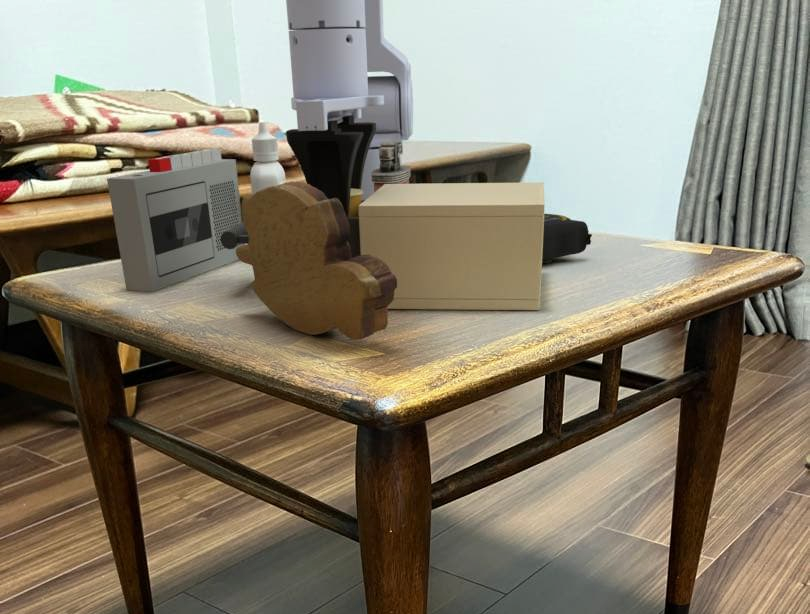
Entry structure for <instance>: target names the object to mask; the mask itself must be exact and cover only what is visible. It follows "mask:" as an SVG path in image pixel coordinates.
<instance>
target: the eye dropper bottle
mask: <svg viewBox="0 0 810 614" xmlns="http://www.w3.org/2000/svg"><path fill="white" fill-rule="evenodd" d="M251 146H252V157H253V161H254V163H253V165H252V167H251V169H250V172H249V173H250V174H249V177H250V187H251V188H250V189H251V194H255V193H256V192H258V191H260V190H262V189H265V188H267V187H271V186H276V185H280V184H284V183H287V179H286V172H285V170H284V168H283V166H282V164H280V162H279V161H278V160H279V159H280V157H279V156H280V155H279V146H278V138H277V137H276V136H274V135H272V134H271V133H270V130H269V127H268V123H267V121H260V122H258V132H257V135H256V136H254V137H253V138H252V139H251Z"/></svg>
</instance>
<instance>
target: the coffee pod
mask: <svg viewBox="0 0 810 614" xmlns="http://www.w3.org/2000/svg"><path fill="white" fill-rule="evenodd" d="M362 193H363V191H362V190H360V189H351V190H350V205H349V214H348V217H359V209H358V206H359V205H360V204H361V203H362V196H361V194H362Z"/></svg>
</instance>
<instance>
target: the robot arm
mask: <svg viewBox="0 0 810 614" xmlns="http://www.w3.org/2000/svg"><path fill="white" fill-rule="evenodd" d="M285 2H286V17H287V29H288V42H289V55H290V65H291V66H290V69H291V83H292V95H293V97H291V98H290V103H291V109H292V110H294V111H296V122H297V124H296V125H297V128H291V129H288V130H285V134H286V136H285V137H286V141H287V144H288V146H289V147H290V149H291V151H292V152H293V154H294V156H295V158H296V160H297V162H298V164H299V167H300V168H301V171H302V174H303V176H304V179H305V183H307V184H309V185H311V186H313V187H315V188H317V189H318V190H320V191H322V192H323V193H324V194H325V196H326V197H327V198H328V199H333V198H337V199H339V201H340V202H341V204H342V206H343V209H344V211H345V214H346V217H348V214H349V205H350V190H351V189H360V190H362V191H363V193H362V194H361V196H362V200H366V199H367V198H368V197H370V196H371V195H372V194H373V193H374V182H372V176H371V173H372V171H374V170H376V169H378V168H380V160H379V148H380V145H381V142H391V141H401V143H404V141H409V139H410V137H411V136H412V135H413V134H414V133H413V132H414V95H413V94H414V91H413V80H412V73H411V72H412V71H411V70H412V67H411V63H410V62H409V60H408V59H409V58H408V57H407V56H406V54H404V53H403V52H402V51H400V50H399V49H398V48H397V47H396V46H394V45H393V44H391V42H389V41H388V40H387V39H386V38H385V35H384V33H385V31H384V6H383V5H384V4H383V0H285ZM374 72H375V73H380V72H384V73H389V74H391V75H377V76H376V75H375V76H374V75H373V76H368V73H374ZM402 163H403V162H402V155H400V165H403V164H402Z"/></svg>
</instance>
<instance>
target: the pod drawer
mask: <svg viewBox="0 0 810 614" xmlns="http://www.w3.org/2000/svg"><path fill="white" fill-rule="evenodd" d="M364 201H365V200H362V202H364ZM347 220H348V223H349V227H350V237H349V239H348V240H347V241H348V243H349V245H350V248H351V250H350V252H351V255H352V258H354V257H356V256H360V255H361V250H360V229H359V217H347ZM221 243H222V245H223V246H224V247H225V248H227V249H234V248H235V247H237V246H238V245H240V244H249V236H248V233H247V230H246V228H245V225H244V222H243V221H242V223H240V224H238V225H236V226H235V227H233V228H231V229H229V230H227V231H226V232H224V233H223V234H222V235H221Z"/></svg>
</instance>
